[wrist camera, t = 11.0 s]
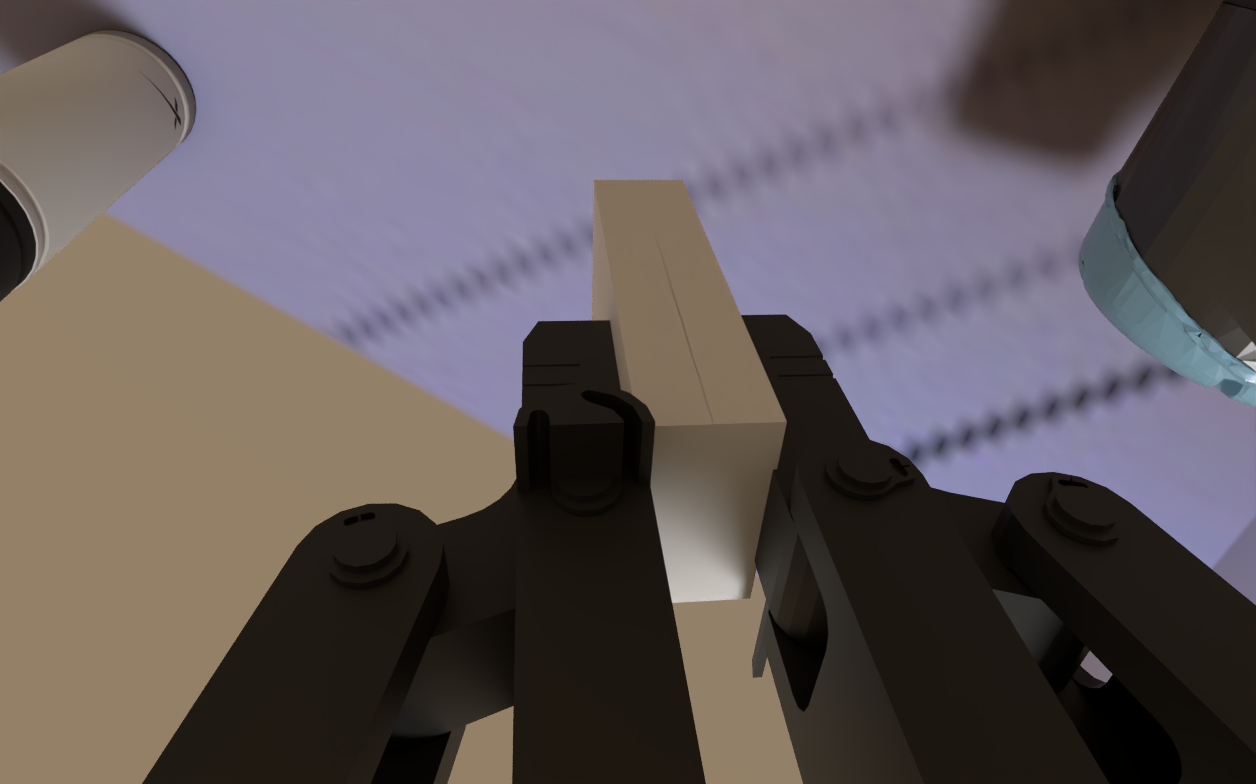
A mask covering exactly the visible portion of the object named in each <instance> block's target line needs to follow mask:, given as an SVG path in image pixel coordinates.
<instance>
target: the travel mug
mask: <svg viewBox="0 0 1256 784" xmlns="http://www.w3.org/2000/svg"><path fill="white" fill-rule="evenodd" d="M195 113H196V110H195V100H194V96H193V93H192V90H191V87H190V85H189V83H188V81H187V79H186V77H185V75H184V74H183V73H182V71H181V70H180V68H179V67H178V66H177V64H176V63H175V62H174V61H173V60H172V59H171V58H170V57H169V56H168V55H167V54H166V53H164V52H163V51H162V50H161V49H159V48H158V47H157V46H155V45H154V44H152V43H150V42H148V41H147V40H145V39H143V38H141V37H138V36H136V35H133V34H130V33H126V32H121V31H117V30H101V31H97V32H92V33H89V34H87V35H85V36H83V37H81V38H78V39H76V40H74V41H72V42H70V43H67V44H65V45H63V46H61V47H59V48H57V49H54V50H52V51H50V52H48V53H46V54H43V55H41V56H39V57H37V58H35V59H32V60H30V61H28V62H26V63H24V64H22V65H19V66H17V67H15V68H13V69H11V70H8V71H6V72H4V73H2V74H0V301H1V300H2V299H3V298H4V297H6V296H7V295H8V294H9V293H10V292H11V291H12V290H14V289H16V288H18V287H19V286H20V285H21V284H23V283H24V282H25V281H27V280H28V279H29V278H30V277H31V276H32V275H33V274H34V273H35V272H37V271H38V270H39V269H40V268H41V267H42V266H43V265H45V264H46V263H47V262H48V261H49V260H50V259H51V258H52V257H53V256H54V255H56V254H57V253H58V252H59V251H60V250H61V249H62V248H64V247H65V246H66V245H67V244H68V243H69V242H70V241H71V240H73V239H74V238H75V237H76V236H77V235H78V234H79V233H81V232H82V231H83V230H84V229H85V228H86V227H87V226H88V225H89V224H90V223H92V222H93V221H94V220H95V219H96V218H97V217H98V216H100V215H101V214H102V213H103V212H104V211H105V210H106V209H108V208H109V207H110V206H111V205H112V204H113V203H114V202H115V201H116V200H118V199H119V198H120V197H121V196H122V195H123V194H124V193H125V192H127V191H128V190H129V189H130V188H131V187H132V186H133V185H134V184H136V183H137V182H138V181H139V180H140V179H141V178H142V177H143V176H145V175H146V174H147V173H148V172H149V171H150V170H151V169H152V168H154V167H155V166H156V165H157V164H158V163H159V162H160V161H161V160H163V159H164V158H165V157H166V156H167V155H168V154H169V153H170V152H172V151H173V150H174V149H175V148H176V147H177V146H178V145H179V144H181V143H182V142H183V141H184V140H185V139H186V137H187V136H188V135H189V133H190V132H191V130H192V127H193V124H194V121H195Z"/></svg>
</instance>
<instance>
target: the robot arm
mask: <svg viewBox="0 0 1256 784" xmlns="http://www.w3.org/2000/svg"><path fill="white" fill-rule="evenodd" d="M1242 7H1243V8H1242ZM1246 8H1247V9H1246ZM1250 9H1251V10H1250ZM1105 198H1106V199H1105V201H1104V203H1103V205H1102V207H1101V209H1100V210H1099V212H1098V214H1097V216H1096V218H1095V220H1094V222H1093V224H1092V225H1091V227H1090V229H1089V231H1088V233H1087V235H1086V237H1085V238H1084V240H1083V243H1082V245H1081V248H1080V252H1079V259H1078V265H1079V269H1080V274H1081V277H1082V279H1083V283H1084V287H1085V289H1086V291H1087V293H1088V295H1089V297H1090V298H1091V300H1092V301H1093V302H1094V304H1095V305H1096V307H1097V308H1098V309H1099V310H1100V312H1101V313H1102V314H1103V315H1104V316H1105V317H1106V318H1107V319H1108V320H1109V321H1110V322H1111V323H1112V324H1113V325H1114V326H1115V327H1116V328H1117V329H1118V330H1119V331H1120V332H1121V333H1122V334H1124V335H1125V336H1126V337H1127V338H1128V339H1129V340H1131V341H1132V342H1133V343H1134V344H1136V345H1137V346H1138V347H1140V348H1141V349H1142V350H1144V351H1145V352H1146V353H1148V354H1149V355H1151V356H1152V357H1153V358H1155V359H1156V360H1158V361H1159V362H1161V363H1162V364H1164V365H1165V366H1167V367H1168V368H1170V369H1172V370H1173V371H1175V372H1177V373H1178V374H1180V375H1182V376H1183V377H1185V378H1187V379H1189V380H1191V381H1193V382H1195V383H1196V384H1199V385H1201V386H1203V387H1212V386H1215V387H1216V388H1217V389H1219V390H1220V391H1221V392H1223V393H1224V394H1225V395H1226V396H1228V397H1229V398H1230V399H1232V400H1235V401H1238V402H1241V403H1244V404H1247V405H1250V406H1253V407H1256V0H1224V1H1223V3H1222V4H1221V6H1220V8H1219V9H1218V11H1217V13H1216V14H1215V16H1214V18H1213V19H1212V21H1211V23H1210V24H1209V26H1208V28H1207V29H1206V31H1205V33H1204V34H1203V36H1202V38H1201V39H1200V41H1199V43H1198V44H1197V46H1196V48H1195V49H1194V51H1193V53H1192V54H1191V56H1190V58H1189V59H1188V61H1187V62H1186V64H1185V66H1184V67H1183V69H1182V71H1181V72H1180V74H1179V76H1178V77H1177V79H1176V80H1175V82H1174V84H1173V85H1172V87H1171V89H1170V90H1169V92H1168V94H1167V95H1166V97H1165V99H1164V100H1163V102H1162V103H1161V105H1160V107H1159V108H1158V110H1157V112H1156V113H1155V115H1154V117H1153V118H1152V120H1151V121H1150V123H1149V125H1148V126H1147V128H1146V130H1145V131H1144V133H1143V135H1142V136H1141V138H1140V139H1139V141H1138V143H1137V144H1136V146H1135V148H1134V149H1133V151H1132V153H1131V154H1130V156H1129V158H1128V159H1127V161H1126V162H1125V164H1124V166H1123V167H1122V169H1121V170H1120V171H1119V172H1118V173H1116V174H1115V175H1114V176H1113V177H1112V179H1111V180H1110V182H1109V184H1108V186H1107V190H1106V194H1105ZM513 430H514V446H515V462H516V477H517V478H516V480H515V482H514V484H513V485H512V487H511V488H510V489H509V490H508V491H507V492H506V493H505V494H504V495H503V496H502V497H501V498H500V499H499V500H497V501H496V502H494V503H493V504H491V505H490V506H488V507H486V508H485V509H483V510H481V511H478V512H476V513H473V514H470V515H468V516H465V517H462V518H459V519H456V520H452V521H449V522H445V523H442V524H438V525H436V524H435V523H434V522H433V521H432V520H431V519H429V518H428V517H427V516H426V515H424V514H423V513H422V512H421V511H420V510H416V509H413V508H410V507H406V506H403V505H399V504H366V505H363V506H359V507H356V508H352V509H348V510H345V511H341V512H339V513H338V514H336V515H334V516H332V517H331V518H329V519H327V520H325V521H324V522H322V523H320V524H319V525H317V526H315V527H314V528H313V529H312V530H311V532H310V533H309V534H308V535H307V536H306V537H305V538H304V539H303V540H302V541H301V542H300V543H299V544H298V545H297V547H296V548H295V550H294V551H293V553H292V555H291V556H290V558H289V559H288V561H287V562H286V564H285V565H284V567H283V568H282V570H281V571H280V573H279V574H278V576H277V578H276V579H275V581H274V582H273V584H272V585H271V587H270V588H269V590H268V591H267V593H266V594H265V596H264V597H263V599H262V601H261V602H260V604H259V605H258V607H257V608H256V610H255V611H254V613H253V614H252V616H251V617H250V619H249V620H248V622H247V624H246V625H245V627H244V628H243V630H242V631H241V633H240V634H239V636H238V637H237V639H236V641H235V642H234V643H233V645H232V647H231V648H230V650H229V651H228V653H227V654H226V656H225V657H224V659H223V660H222V662H221V663H220V665H219V667H218V668H217V670H216V671H215V673H214V674H213V676H212V677H211V679H210V680H209V682H208V683H207V685H206V686H205V688H204V690H203V691H202V693H201V694H200V696H199V697H198V699H197V700H196V702H195V703H194V705H193V707H192V708H191V709H190V711H189V713H188V714H187V716H186V717H185V719H184V720H183V722H182V723H181V725H180V726H179V728H178V729H177V731H176V733H175V734H174V736H173V737H172V739H171V740H170V742H169V743H168V745H167V746H166V748H165V749H164V751H163V752H162V754H161V756H160V757H159V759H158V760H157V762H156V763H155V765H154V766H153V768H152V769H151V771H150V772H149V774H148V775H147V777H146V779H145V780H144V782H143V783H142V784H447V783H448V779H449V777H450V774H451V770H452V767H453V764H454V761H455V758H456V755H457V752H458V749H459V746H460V743H461V740H462V737H463V734H464V731H465V727H466V725H467V724H469V723H472V722H474V721H477V720H479V719H482V718H484V717H487V716H489V715H492V714H494V713H497V712H499V711H502V710H504V709H507V708H509V707H511V706H514V718H513V776H512V780H513V781H512V784H706V783H705V778H704V772H703V767H702V761H701V756H700V750H699V745H698V739H697V734H696V729H695V724H694V718H693V713H692V707H691V702H690V697H689V691H688V686H687V680H686V675H685V670H684V664H683V659H682V653H681V648H680V643H679V638H678V632H677V626H676V621H675V617H674V610H673V605H672V603H677V602H693V601H694V602H695V601H712V600H729V599H747V598H750V596H751V592H752V587H753V581H754V577H755V573H756V568H757V571H758V574H759V578H760V581H761V584H762V587H763V591H764V594H765V597H766V602H765V606H764V611H763V615H762V620H761V624H760V628H759V633H758V637H757V641H756V646H755V651H754V655H753V659H752V667H753V678H754V677H762V675H763V671H764V667H765V663H766V659H767V657H768V661H769V664H770V668H771V671H772V675H773V678H774V682H775V686H776V689H777V693H778V696H779V699H780V703H781V707H782V710H783V714H784V717H785V721H786V725H787V728H788V732H789V735H790V739H791V742H792V746H793V749H794V753H795V756H796V760H797V763H798V767H799V771H800V774H801V777H802V781H803V784H1256V605H1255V604H1253V603H1252V602H1251V601H1250V600H1249V599H1247V598H1246V597H1245V596H1244V595H1242V594H1241V593H1240V592H1239V591H1237V590H1236V589H1235V588H1234V587H1232V586H1231V585H1230V584H1229V583H1228V582H1226V581H1225V580H1224V579H1222V577H1220V576H1219V575H1218V574H1217V573H1215V572H1214V571H1213V570H1212V569H1211V568H1209V567H1208V566H1207V565H1206V564H1204V563H1203V562H1202V561H1201V560H1200V559H1198V558H1197V557H1196V556H1195V555H1193V554H1192V553H1191V552H1190V551H1189V550H1187V549H1186V548H1185V547H1184V546H1182V545H1181V544H1180V543H1179V542H1177V541H1176V540H1175V539H1174V538H1173V537H1171V536H1170V535H1169V534H1168V533H1166V532H1165V531H1164V530H1163V529H1162V528H1160V527H1159V526H1158V525H1157V524H1155V523H1154V522H1153V521H1152V520H1151V519H1149V518H1148V517H1147V516H1146V515H1144V514H1143V513H1142V512H1141V511H1139V510H1138V509H1137V508H1136V507H1135V506H1133V505H1132V504H1131V503H1129V502H1128V501H1126V500H1125V499H1123V498H1122V497H1120V496H1119V495H1117V494H1116V493H1114V492H1113V491H1111V490H1109V489H1108V488H1106V487H1104V486H1101V485H1099V484H1096V483H1094V482H1091V481H1089V480H1086V479H1084V478H1081V477H1078V476H1072V475H1067V474H1061V473H1056V472H1047V473H1033V474H1029V475H1027V476H1025V477H1023V478H1021V479H1019V480H1017V481H1015V483H1014V485H1013V487H1012V489H1011V491H1010V493H1009V495H1008V497H1007V500H1006V502H1005V503H1002V502H997V501H992V500H987V499H981V498H976V497H971V496H966V495H960V494H955V493H950V492H946V491H942V490H939V489H935V488H931V487H930V486H929V484H928V482H927V481H926V479H925V477H924V476H923V474H922V473H921V472H920V471H919V470H918V469H917V468H916V466H915V465H914V464H913V463H912V462H911V461H910V460H909V459H908V458H907V457H905V456H904V455H902V454H900V453H899V452H897V451H895V450H894V449H892V448H891V447H889V446H887V445H884V444H881V443H878V442H875V441H872V440H870V439H869V438H868V436H867V434H866V432H865V430H864V429H863V427H862V425H861V423H860V421H859V420H858V418H857V416H856V414H855V412H854V411H853V409H852V407H851V405H850V403H849V402H848V400H847V398H846V396H845V394H844V393H843V391H842V389H841V387H840V385H839V384H838V382H837V380H836V378H833V373H832V371H831V369H830V367H829V366H828V364H827V362H826V360H823V355H822V353H821V351H820V349H819V348H818V346H817V344H816V342H815V340H814V339H813V337H812V335H811V333H809V332H808V331H807V330H805V329H804V328H803V327H802V326H800V325H799V324H798V323H796V322H795V321H794V320H792V319H791V318H790V317H788V316H787V315H741V314H740V312H739V310H738V308H737V305H736V303H735V301H734V298H733V296H732V294H731V291H730V289H729V287H728V284H727V282H726V280H725V278H724V275H723V273H722V271H721V268H720V266H719V264H718V261H717V259H716V257H715V254H714V252H713V250H712V247H711V245H710V243H709V241H708V238H707V236H706V234H705V231H704V229H703V227H702V224H701V222H700V220H699V217H698V215H697V213H696V211H695V208H694V206H693V204H692V201H691V199H690V197H689V194H688V192H687V190H686V187H685V185H684V183H683V180H594V213H593V283H592V321H538V323H537V324H536V325H535V327H534V328H533V329H532V331H531V332H530V333H529V335H528V336H527V337H526V339H525V340H524V341H523V372H522V407H521V408H520V409H519V411H518V414H517V417H516V420H515V423H514V426H513ZM1089 651H1091V652H1092V653H1093V654H1094V655H1095V656H1096V657H1097V658H1098V659H1099V660H1100V661H1101V662H1102V663H1103V664H1104V666H1105V667H1106V668H1107V669H1108V670H1109V671H1110V672H1112V674H1113V675H1112V676H1111V678H1110V679H1109V680H1108V682H1106V683H1105V682H1103V681H1101V680H1098V679H1096V678H1094V677H1093V676H1091V675H1090V674H1089V673H1088V672H1087V671H1086V670H1084V669H1083V668H1082V667H1081V666H1080V664H1081V662H1082V661H1083V660H1084V658H1085V657H1086V655H1087V654H1088V652H1089Z"/></svg>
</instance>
